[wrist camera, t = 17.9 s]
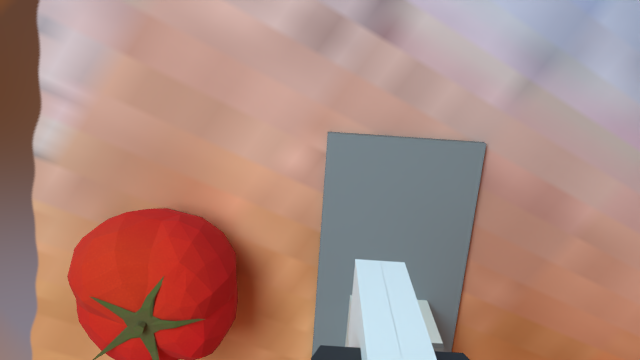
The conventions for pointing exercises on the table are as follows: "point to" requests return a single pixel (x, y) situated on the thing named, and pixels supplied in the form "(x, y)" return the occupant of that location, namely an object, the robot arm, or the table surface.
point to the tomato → (155, 285)
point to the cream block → (429, 324)
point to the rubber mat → (396, 222)
